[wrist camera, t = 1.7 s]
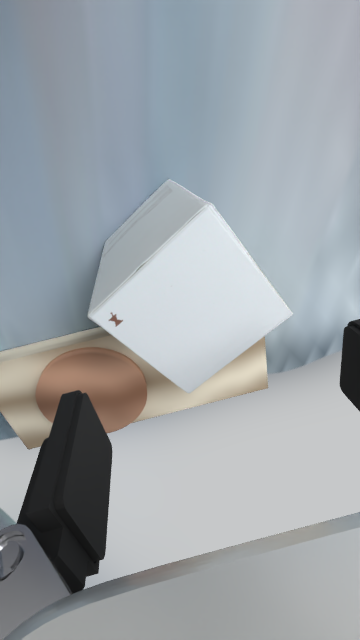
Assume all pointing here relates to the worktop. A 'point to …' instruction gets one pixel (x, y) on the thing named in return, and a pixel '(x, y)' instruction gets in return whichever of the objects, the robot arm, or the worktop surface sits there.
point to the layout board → (107, 382)
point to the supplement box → (182, 288)
